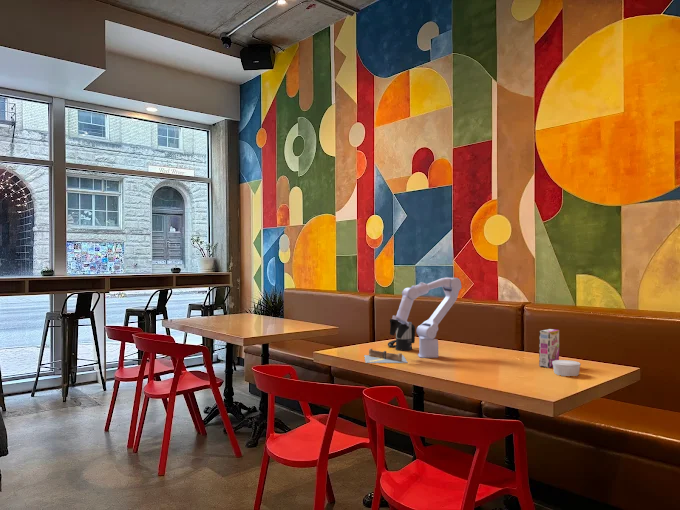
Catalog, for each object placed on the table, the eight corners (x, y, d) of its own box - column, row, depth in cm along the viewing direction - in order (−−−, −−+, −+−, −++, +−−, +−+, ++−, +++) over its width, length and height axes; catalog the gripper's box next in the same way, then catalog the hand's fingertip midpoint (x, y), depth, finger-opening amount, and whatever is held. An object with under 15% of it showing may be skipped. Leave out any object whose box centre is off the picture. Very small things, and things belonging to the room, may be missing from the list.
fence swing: (385, 358, 254) (385, 351, 254) (388, 358, 255) (388, 351, 255) (400, 361, 247) (400, 354, 247) (402, 360, 249) (402, 353, 249)
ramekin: (564, 378, 213) (564, 365, 213) (546, 372, 224) (546, 360, 224) (586, 376, 216) (586, 364, 217) (568, 371, 227) (567, 359, 227)
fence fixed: (370, 355, 263) (370, 348, 263) (387, 358, 256) (387, 351, 256) (368, 356, 262) (368, 348, 262) (384, 359, 254) (384, 351, 254)
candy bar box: (549, 368, 233) (549, 331, 233) (538, 366, 236) (538, 330, 236) (560, 364, 240) (559, 329, 241) (549, 363, 244) (549, 328, 244)
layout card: (403, 355, 264) (403, 355, 264) (407, 363, 245) (407, 362, 245) (364, 355, 264) (364, 355, 264) (365, 363, 245) (365, 362, 245)
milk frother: (409, 351, 276) (409, 323, 276) (381, 349, 283) (381, 322, 283) (417, 347, 289) (416, 320, 289) (390, 345, 296) (390, 319, 296)
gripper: (403, 312, 265) (394, 337, 263) (390, 304, 253) (381, 331, 251) (415, 315, 261) (406, 341, 258) (403, 308, 249) (393, 335, 247)
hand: (395, 336), depth 254 cm, fingers open, 7 cm apart
